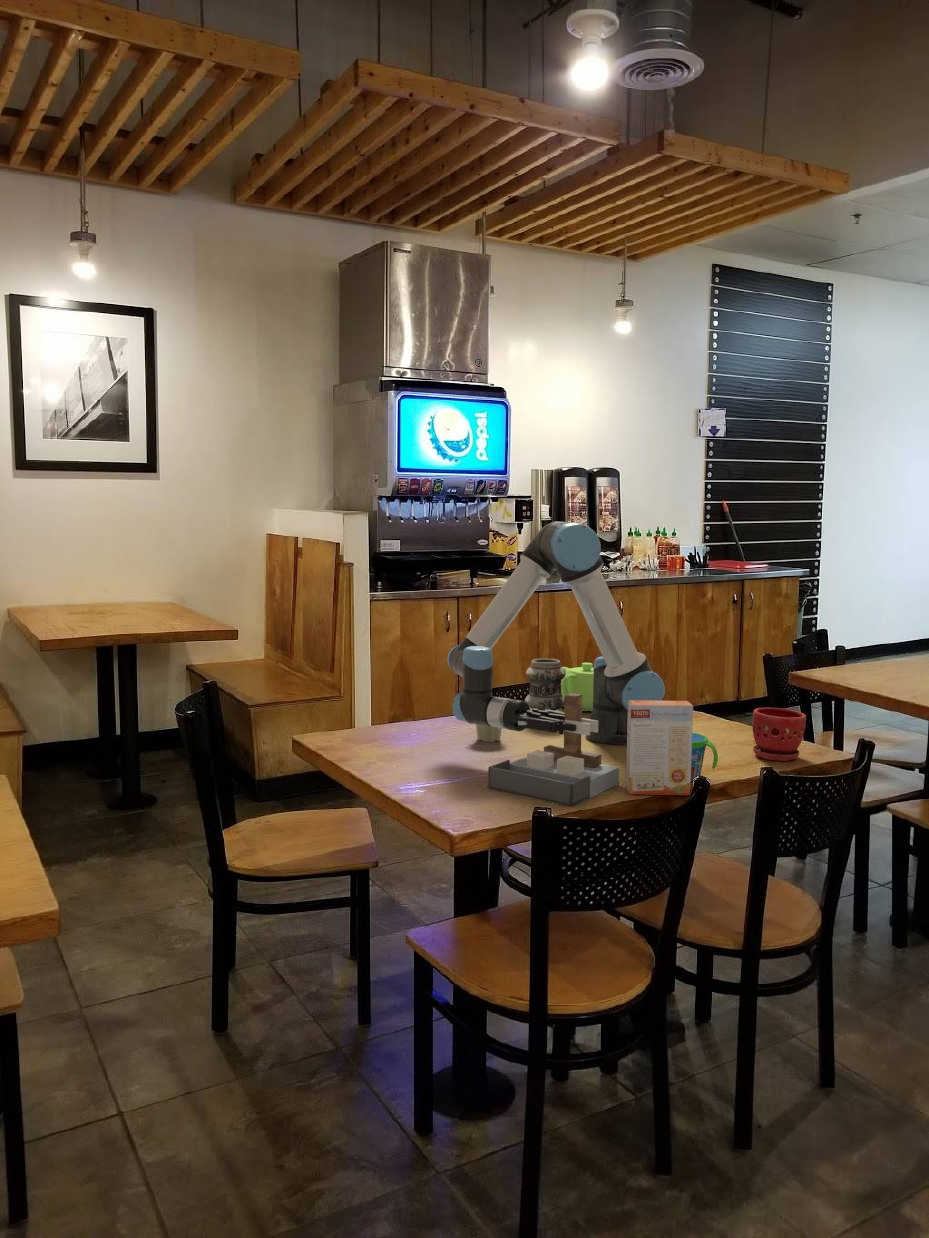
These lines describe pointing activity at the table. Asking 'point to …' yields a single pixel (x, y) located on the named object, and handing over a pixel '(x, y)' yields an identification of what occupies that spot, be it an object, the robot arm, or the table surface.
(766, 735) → the plant pot
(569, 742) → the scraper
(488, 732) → the flower pot
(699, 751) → the snack cup
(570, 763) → the tile
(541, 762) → the tile
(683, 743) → the cracker box
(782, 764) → the table surface
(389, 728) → the table surface
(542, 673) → the apothecary jar
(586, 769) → the board
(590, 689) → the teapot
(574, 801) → the box
